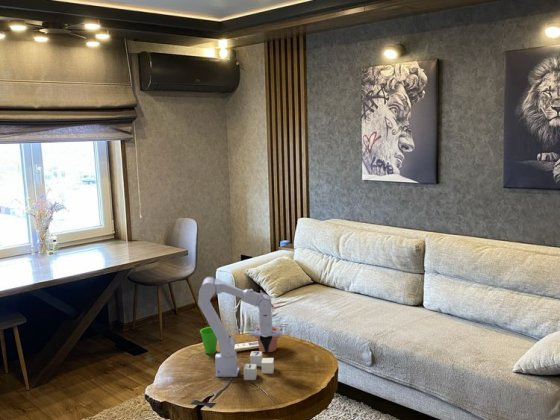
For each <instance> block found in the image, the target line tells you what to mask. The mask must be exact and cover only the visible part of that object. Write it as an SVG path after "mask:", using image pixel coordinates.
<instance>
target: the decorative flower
mask: <svg viewBox="0 0 560 420" xmlns="http://www.w3.org/2000/svg"><path fill="white" fill-rule="evenodd" d="M261 293H262V294H266V293H265V292H264V291H262V289H260V290H259V294H261ZM271 304H272V307H271V309H277V308H276V307H275V305H274V304H273V303H272V302H271ZM255 323H256V324H257V325H259V322H256V321H255ZM258 330H259V327H257V328H255V329H254V330H253V331H258ZM272 330H276V331H282V329H280V327H276V326H273V325H272ZM253 337H254V338H255V339H257V344H258V350H259V351H262V353H265V350H264V347H263V344H262V343H261V341H260V336H253ZM279 338H281V337H280V336H272V340H271V342H270V345H269V352H268V353H272V352H275V351H276V350H277V347H278V339H279Z"/></svg>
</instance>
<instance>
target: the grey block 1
mask: <svg viewBox="0 0 560 420" xmlns="http://www.w3.org/2000/svg"><path fill="white" fill-rule="evenodd" d="M257 367H258V366H256V364H250V363H245V364H244V367H243V380H245V381H256V379H257V376H258V370H257Z"/></svg>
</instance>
